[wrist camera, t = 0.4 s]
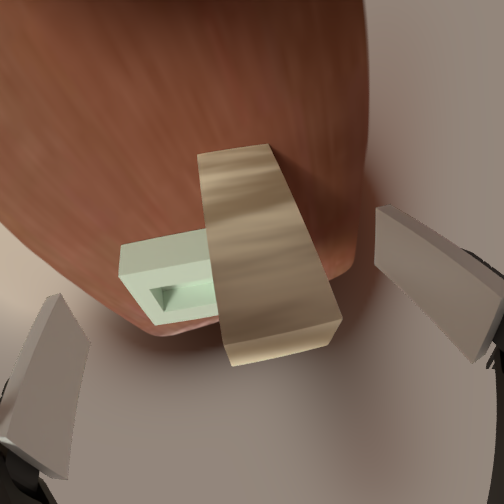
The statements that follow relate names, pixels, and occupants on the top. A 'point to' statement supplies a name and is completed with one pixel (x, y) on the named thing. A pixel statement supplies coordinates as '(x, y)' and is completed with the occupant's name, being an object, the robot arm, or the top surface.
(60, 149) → the top surface
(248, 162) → the wooden block
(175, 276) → the end cap
